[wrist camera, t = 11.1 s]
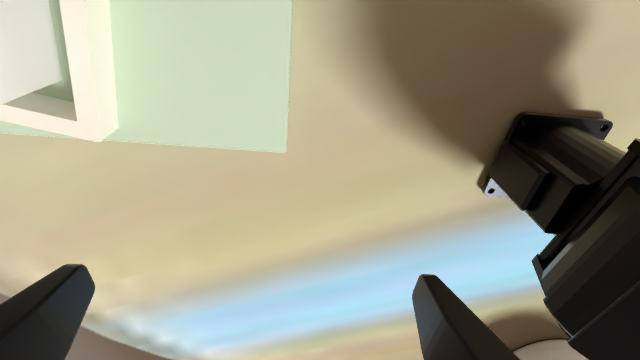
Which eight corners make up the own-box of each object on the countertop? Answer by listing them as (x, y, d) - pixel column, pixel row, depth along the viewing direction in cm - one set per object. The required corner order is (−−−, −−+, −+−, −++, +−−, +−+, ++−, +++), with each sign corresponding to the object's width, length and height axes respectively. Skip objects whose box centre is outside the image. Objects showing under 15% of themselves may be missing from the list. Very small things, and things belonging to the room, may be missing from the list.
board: (299, -181, 12) (299, -192, 12) (287, 145, 21) (286, 152, 20) (-255, -266, 11) (-302, -286, 10) (-32, 123, 19) (-47, 130, 18)
